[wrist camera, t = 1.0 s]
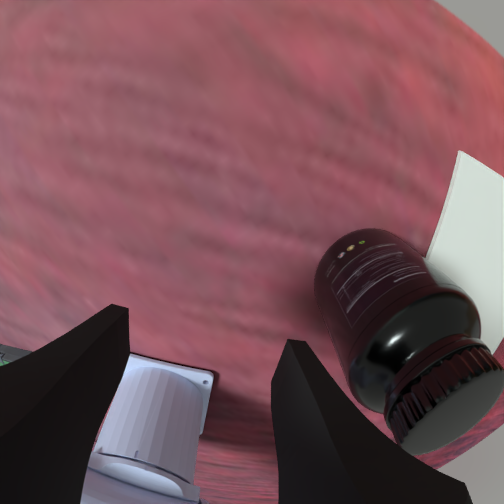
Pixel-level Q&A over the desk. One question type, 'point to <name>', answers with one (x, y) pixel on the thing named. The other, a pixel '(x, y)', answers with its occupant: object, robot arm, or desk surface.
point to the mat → (474, 242)
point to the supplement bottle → (406, 339)
